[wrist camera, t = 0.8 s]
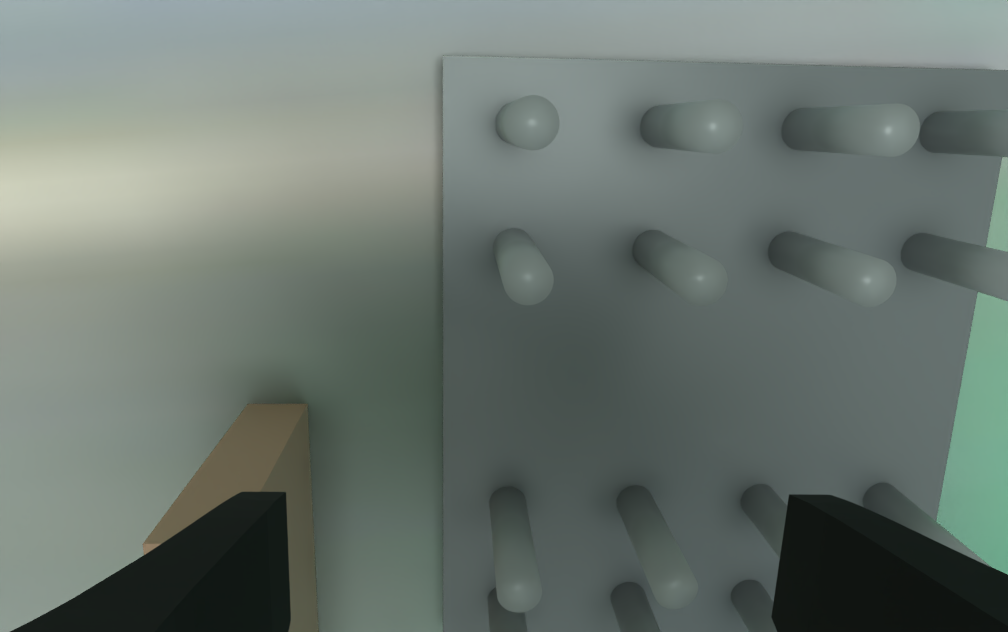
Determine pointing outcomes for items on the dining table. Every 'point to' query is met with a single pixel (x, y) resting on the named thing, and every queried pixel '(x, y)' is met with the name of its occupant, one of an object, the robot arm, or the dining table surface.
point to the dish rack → (697, 323)
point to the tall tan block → (260, 468)
